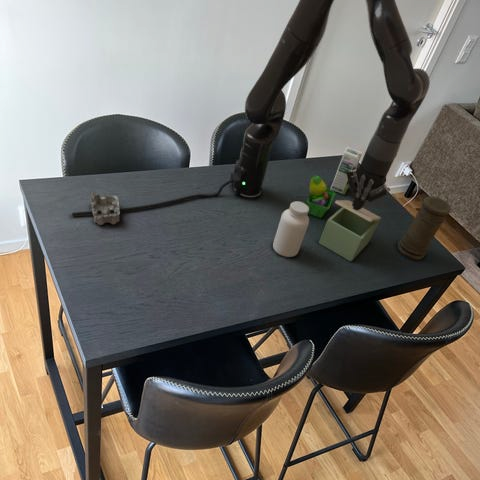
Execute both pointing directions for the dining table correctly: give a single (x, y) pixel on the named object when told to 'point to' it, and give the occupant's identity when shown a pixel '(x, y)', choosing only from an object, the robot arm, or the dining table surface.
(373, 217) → the lid
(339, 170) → the syrup box
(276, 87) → the robot arm
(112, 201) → the egg carton
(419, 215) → the container
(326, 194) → the fruit basket
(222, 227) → the dining table surface
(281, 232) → the pill bottle
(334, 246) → the caddy
